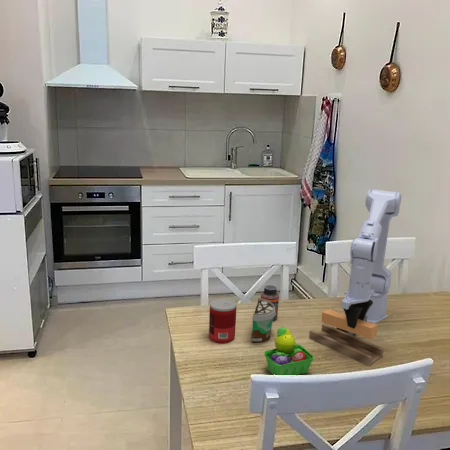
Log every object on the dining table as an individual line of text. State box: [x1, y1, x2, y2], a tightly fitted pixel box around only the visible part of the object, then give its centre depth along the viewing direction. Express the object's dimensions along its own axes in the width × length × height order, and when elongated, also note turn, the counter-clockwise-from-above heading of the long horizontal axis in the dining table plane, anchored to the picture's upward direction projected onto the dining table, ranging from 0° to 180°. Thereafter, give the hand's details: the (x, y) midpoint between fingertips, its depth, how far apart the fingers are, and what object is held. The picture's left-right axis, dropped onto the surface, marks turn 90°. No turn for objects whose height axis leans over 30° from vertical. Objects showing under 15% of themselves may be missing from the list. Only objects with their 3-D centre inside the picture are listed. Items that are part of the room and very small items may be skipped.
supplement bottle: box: [260, 284, 280, 323], centre depth 151 cm, size 6×6×11 cm
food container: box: [251, 297, 276, 344], centre depth 140 cm, size 12×6×10 cm, turn 168°
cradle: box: [308, 323, 384, 367], centre depth 136 cm, size 20×8×3 cm, turn 44°
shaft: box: [321, 309, 378, 340], centre depth 134 cm, size 16×3×3 cm, turn 44°
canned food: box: [208, 298, 237, 344], centre depth 138 cm, size 8×8×11 cm
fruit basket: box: [263, 326, 315, 376], centre depth 122 cm, size 11×9×11 cm
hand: (354, 325), depth 132 cm, fingers closed on shaft, 3 cm apart
